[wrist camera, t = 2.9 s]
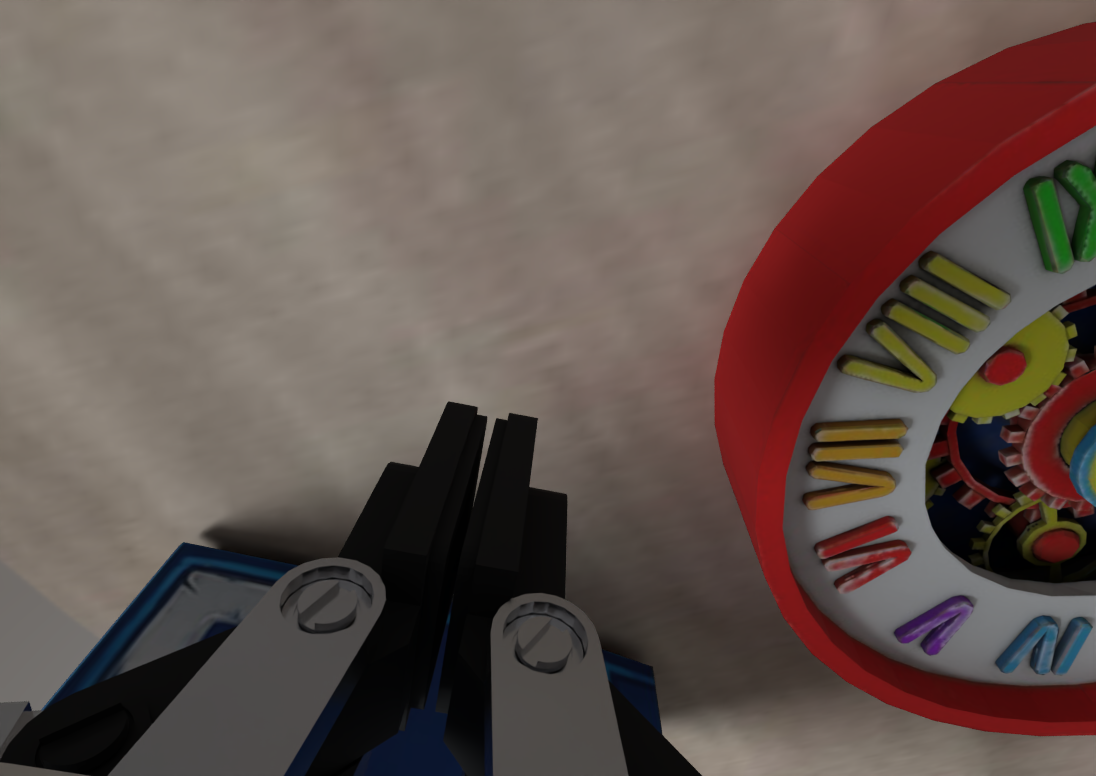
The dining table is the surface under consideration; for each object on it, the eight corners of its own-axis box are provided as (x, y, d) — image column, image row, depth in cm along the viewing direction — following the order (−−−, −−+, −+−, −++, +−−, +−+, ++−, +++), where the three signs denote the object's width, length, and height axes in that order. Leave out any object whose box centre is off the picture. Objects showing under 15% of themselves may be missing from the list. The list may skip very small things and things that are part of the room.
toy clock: (611, 346, 13) (1958, -386, 8) (605, 273, 19) (1402, -194, 13) (895, 798, 21) (1704, 598, 15) (833, 654, 26) (1413, 465, 20)
